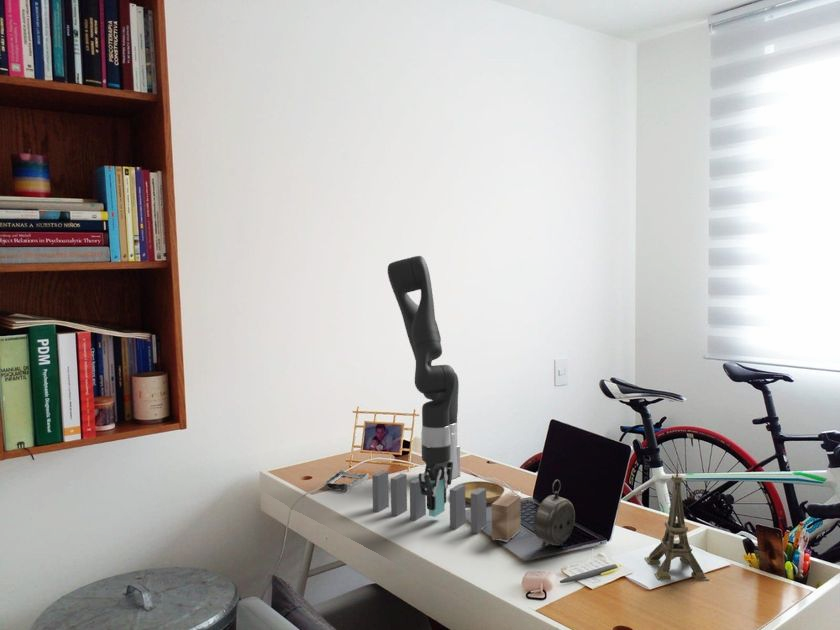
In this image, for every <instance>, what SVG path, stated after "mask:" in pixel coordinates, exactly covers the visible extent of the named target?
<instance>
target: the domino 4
mask: <svg viewBox="0 0 840 630" xmlns="http://www.w3.org/2000/svg"><path fill="white" fill-rule="evenodd" d="M443 479H444V478H443ZM443 479H442V480H439V485H438V487H437V488H436V493H435V496H436V509H435V510H428V516H430V517H434V518H436V517H437V516H439V515H440V514H442V513H444V512H445V511H446V510H445V509H446V507H445V504H446V503H445V504H444V483H443ZM430 483H432V484H434V483H435V480H434V481H432V480H430ZM431 491H432V486H431Z"/></svg>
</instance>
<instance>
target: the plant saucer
mask: <svg viewBox="0 0 840 630" xmlns="http://www.w3.org/2000/svg"><path fill="white" fill-rule="evenodd" d="M460 484H462V485H465V503H468V504H471V493H472V492H474V491H475V490H477V489H479V488H484V489H486V505H487V504H492V503H494V502H495V501H496V500H498V499H499V498H501V497H502V496H503V495H504V493H505V490H506V489H505V488H504V487H503V486H502V485H500V484H498V483H496V482H491V481H480V480H479V481H476V480H475V481H466V482H462V483H460Z"/></svg>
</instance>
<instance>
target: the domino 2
mask: <svg viewBox="0 0 840 630" xmlns="http://www.w3.org/2000/svg"><path fill="white" fill-rule="evenodd" d="M407 482H408V480H407V474H405V473H399V474H397V475H395V476H394V477H391V478H390V508H391V510H390V511H391V513H390V514H391V516H393V517H399V516H400V515H401V514H404V513H406V512H407V511H408V494H407V493H408V489H407V488H408V485H407V484H408V483H407Z"/></svg>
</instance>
